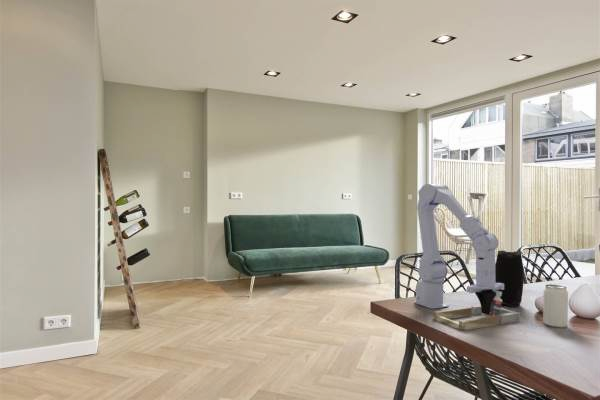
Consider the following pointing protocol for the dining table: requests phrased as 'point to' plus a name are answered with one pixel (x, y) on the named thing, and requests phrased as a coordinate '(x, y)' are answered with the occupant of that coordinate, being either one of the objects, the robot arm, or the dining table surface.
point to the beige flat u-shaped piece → (463, 325)
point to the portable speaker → (510, 277)
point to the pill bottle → (495, 305)
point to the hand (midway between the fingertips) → (486, 313)
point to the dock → (504, 315)
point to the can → (555, 306)
